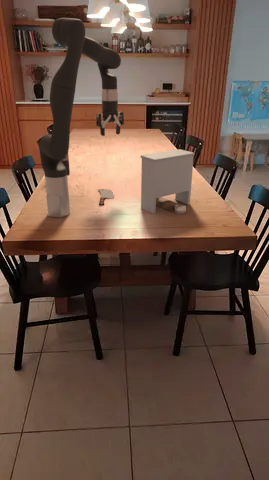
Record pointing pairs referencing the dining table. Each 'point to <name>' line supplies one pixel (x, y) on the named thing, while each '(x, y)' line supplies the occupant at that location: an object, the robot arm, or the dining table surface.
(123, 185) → the dining table surface
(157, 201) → the upright wooden plank
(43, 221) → the dining table surface
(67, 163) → the wine bottle
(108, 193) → the kitchen cleaver
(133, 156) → the dining table surface
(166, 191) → the cabinet
